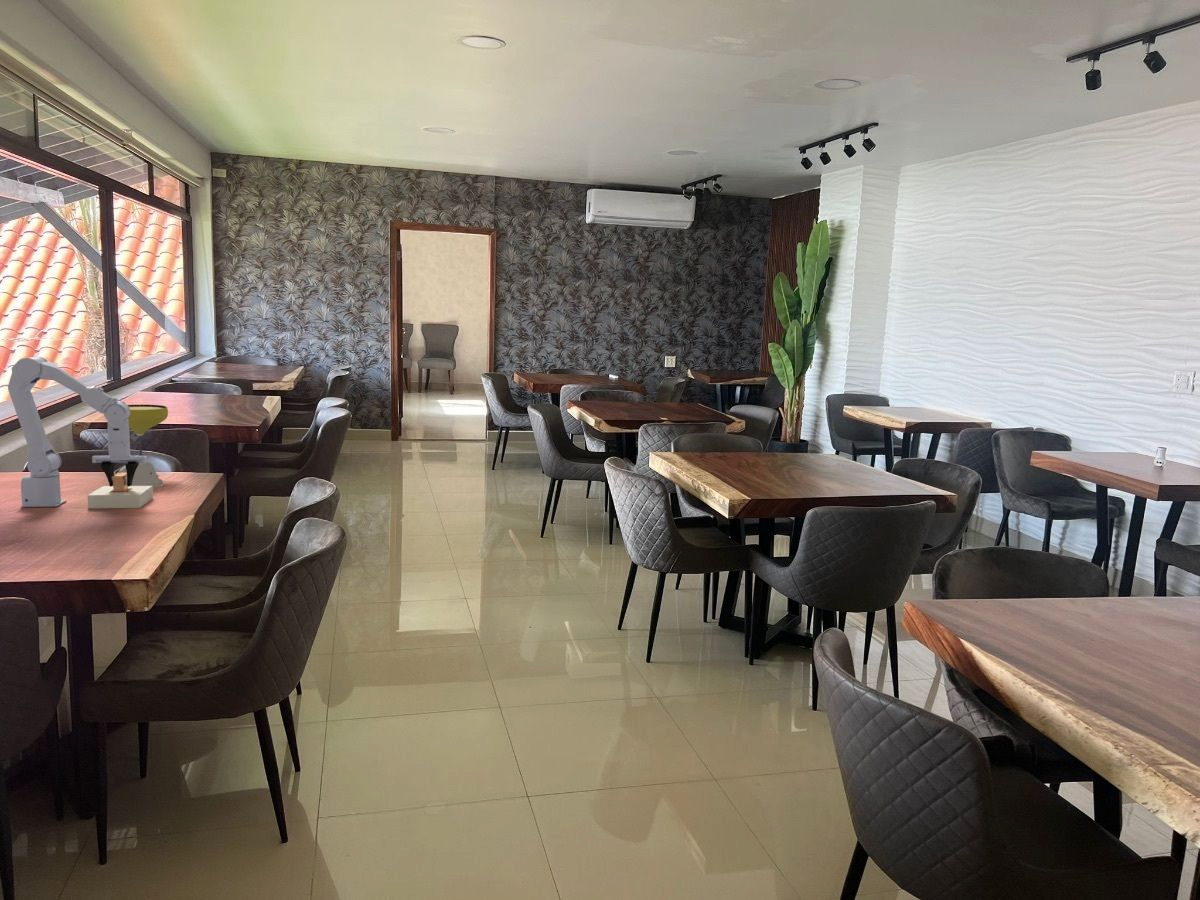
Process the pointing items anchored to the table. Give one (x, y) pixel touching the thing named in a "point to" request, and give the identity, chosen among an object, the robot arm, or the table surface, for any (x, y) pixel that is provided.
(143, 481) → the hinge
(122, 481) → the t-shaped block
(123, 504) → the well block
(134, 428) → the cocktail glass
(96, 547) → the table surface
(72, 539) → the table surface
